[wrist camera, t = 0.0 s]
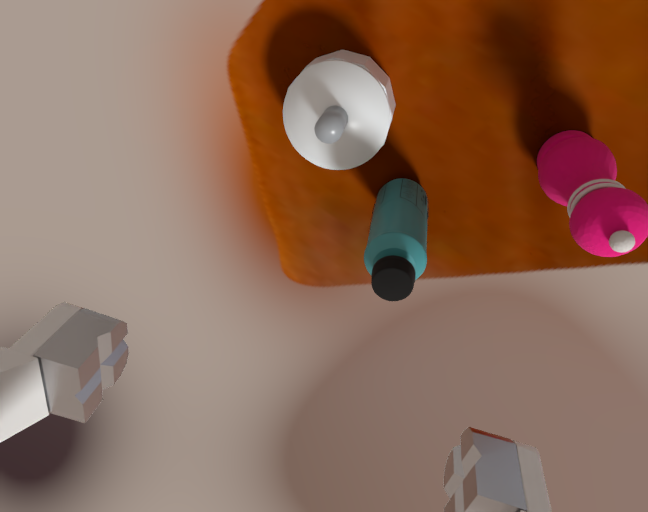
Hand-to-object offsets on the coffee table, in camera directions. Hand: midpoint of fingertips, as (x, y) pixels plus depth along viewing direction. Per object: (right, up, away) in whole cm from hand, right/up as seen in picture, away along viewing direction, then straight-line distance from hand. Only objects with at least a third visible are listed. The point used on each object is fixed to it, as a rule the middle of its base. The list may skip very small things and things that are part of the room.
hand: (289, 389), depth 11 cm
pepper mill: (+28, +14, +42) cm, 53 cm away
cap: (+3, +21, +44) cm, 49 cm away
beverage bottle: (+11, +11, +49) cm, 51 cm away
